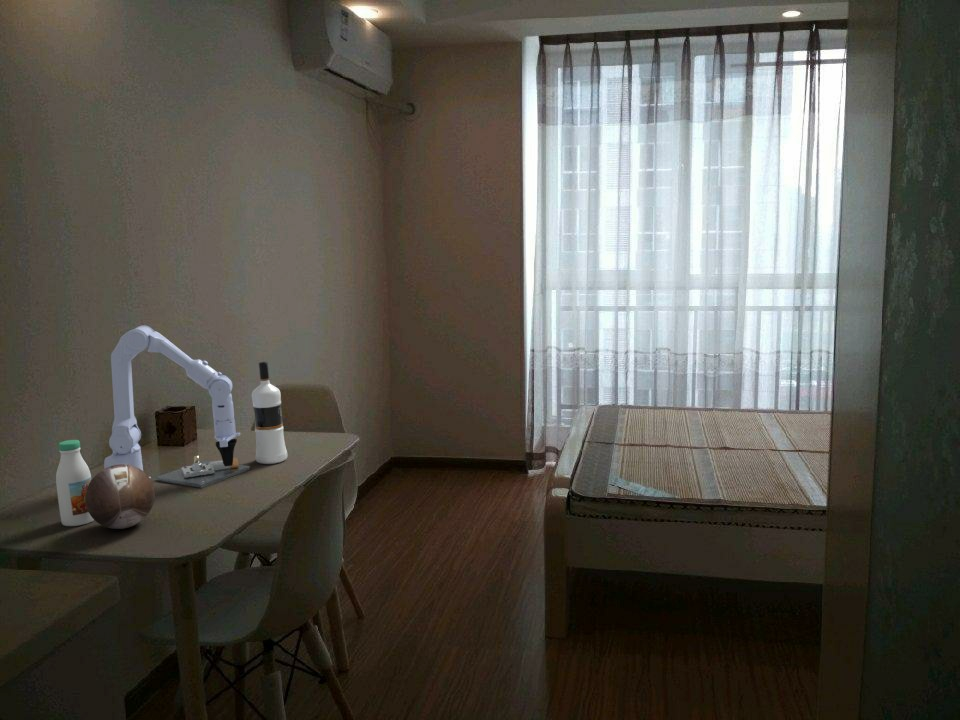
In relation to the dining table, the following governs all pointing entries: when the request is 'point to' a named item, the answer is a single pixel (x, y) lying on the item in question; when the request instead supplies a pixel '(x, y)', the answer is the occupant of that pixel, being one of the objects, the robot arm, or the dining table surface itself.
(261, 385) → the vodka
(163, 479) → the base plate
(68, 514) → the milk bottle
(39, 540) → the dining table surface
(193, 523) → the dining table surface
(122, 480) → the shiny brown metallic sphere
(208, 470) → the silver flat metal piece
